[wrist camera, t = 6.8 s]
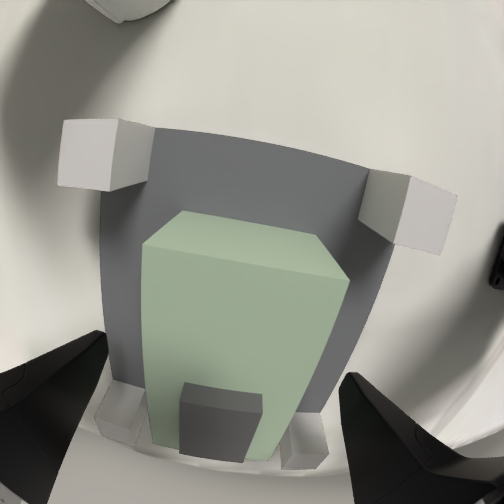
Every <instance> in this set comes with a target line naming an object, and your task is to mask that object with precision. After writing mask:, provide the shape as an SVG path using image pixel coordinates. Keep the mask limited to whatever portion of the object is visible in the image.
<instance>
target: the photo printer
mask: <svg viewBox="0 0 504 504" xmlns="http://www.w3.org/2000/svg"><path fill="white" fill-rule="evenodd" d="M84 1H86V2H87V3H89V4H90V5H91V6H93V7H94V8H95V9H97V10H98V11H99V12H101V13H102V14H103V15H105V16H106V17H108V18H109V19H111V20H112V21H114V22H116V23H122V22H123V21H124V20H128V21H132V20H136V19H139V18H143V17H145V16H147V15H149V14H151V13H153V12H155V11H157V10H159V9H160V8H162V7H163V6H164V5H166V4H167V3H168V2H169V1H171V0H84Z"/></svg>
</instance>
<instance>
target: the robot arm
mask: <svg viewBox="0 0 504 504" xmlns="http://www.w3.org/2000/svg"><path fill="white" fill-rule="evenodd" d="M489 284H490V286H492V287H493V288H495V289H499V290H504V237H503V241H502V244H501V247H500V251H499V254H498V257H497V260H496V263H495V265H494V268H493V271H492V274H491V276H490V280H489ZM108 353H109V347H108V340H107V335H106V333H105V332H102V331H99V330H95V331H92V332H90V333H88V334H86V335H84V336H82V337H80V338H78V339H75V340H73V341H71V342H69V343H67V344H65V345H63V346H60V347H58V348H56V349H54V350H52V351H50V352H47V353H45V354H43V355H41V356H39V357H37V358H35V359H32V360H30V361H28V362H26V363H24V364H21V365H19V366H17V367H15V368H12V369H10V370H8V371H5V372H2V373H0V504H20V503H21V501H22V500H23V501H25V502H26V503H28V504H47V502H48V500H49V497H50V493H51V491H52V488H53V485H54V483H55V480H56V477H57V475H58V471H59V469H60V467H61V464H62V461H63V459H64V457H65V454H66V452H67V449H68V447H69V445H70V442H71V440H72V437H73V435H74V433H75V431H76V428H77V427H78V424H79V422H80V420H81V418H82V416H83V413H84V411H85V409H86V407H87V405H88V403H89V401H90V399H91V397H92V395H93V393H94V391H95V388H96V386H97V384H98V381H99V378H100V375H101V373H102V370H103V367H104V365H105V362H106V359H107V357H108ZM339 402H340V415H341V426H342V431H343V437H344V442H345V447H346V453H347V459H348V464H349V470H350V476H351V482H352V489H353V496H354V502H355V504H504V457H491V458H467V457H464V456H462V455H460V454H458V453H457V452H455V451H454V450H452V449H451V448H449V447H448V446H446V445H445V444H443V443H442V442H440V441H439V440H438V439H436V438H435V437H433V436H432V435H431V434H429V433H428V432H427V431H426V430H424V429H423V428H422V427H421V426H420V425H418V424H416V422H415V421H414V420H412V419H411V418H410V417H409V416H408V415H407V414H405V413H404V412H403V411H402V410H401V409H399V408H398V407H397V406H396V405H395V404H394V403H392V402H391V401H390V400H389V399H388V398H387V397H386V396H384V395H383V394H382V393H381V392H380V391H379V390H377V389H376V388H375V387H374V386H373V385H372V384H371V383H369V382H368V381H367V380H366V379H365V378H364V377H363V376H361V375H360V374H359V373H357V372H349V373H347V374H346V376H345V378H344V379H343V381H342V383H341V385H340V387H339Z"/></svg>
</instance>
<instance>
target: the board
mask: <svg viewBox="0 0 504 504" xmlns="http://www.w3.org/2000/svg"><path fill="white" fill-rule="evenodd" d="M349 282H350V280H349V279H348V277H347V276H346V274H345V273H344V272H343V270H342V269H341V268H340V266H339V265H338V264H337V262H336V261H335V259H334V258H333V257H332V255H331V254H330V253H329V252H328V250H327V249H326V248H325V246H324V245H323V244H322V242H321V241H320V240H319V238H318V237H317V236H316V235H314V234H309V233H304V232H299V231H294V230H289V229H284V228H278V227H273V226H268V225H262V224H257V223H252V222H246V221H241V220H235V219H229V218H224V217H218V216H212V215H206V214H200V213H194V212H188V211H181V212H180V213H179V214H178V215H176V216H175V217H174V218H173V219H172V220H170V221H169V222H168V223H167V224H165V225H164V226H163V227H162V228H161V229H159V230H158V231H157V232H156V233H155V234H154V235H152V236H151V237H150V238H149V239H148V240H147V241H145V242H144V243H143V244H142V268H141V326H142V349H143V364H144V377H145V387H146V397H147V405H148V413H149V421H150V427H151V434H152V440H153V444H157V445H161V446H165V447H169V448H174V449H178V450H179V454H184V455H189V456H195V457H200V458H207V459H213V460H220V461H229V462H238V463H243V461H244V459H245V460H259V461H269V459H270V457H271V455H272V454H273V452H274V450H275V448H276V447H277V445H278V443H279V441H280V440H281V438H282V436H283V434H284V432H285V430H286V428H287V427H288V425H289V423H290V421H291V419H292V417H293V415H294V413H295V411H296V409H297V407H298V405H299V403H300V401H301V399H302V397H303V395H304V393H305V391H306V389H307V386H308V384H309V382H310V380H311V378H312V376H313V373H314V371H315V369H316V367H317V364H318V362H319V360H320V357H321V355H322V353H323V350H324V348H325V346H326V343H327V341H328V338H329V336H330V333H331V331H332V328H333V326H334V323H335V321H336V318H337V315H338V313H339V310H340V307H341V305H342V302H343V299H344V296H345V293H346V291H347V288H348V285H349Z"/></svg>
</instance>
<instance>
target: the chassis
mask: <svg viewBox="0 0 504 504" xmlns="http://www.w3.org/2000/svg"><path fill="white" fill-rule="evenodd" d="M57 186H66V187H75V188H84V189H92V190H101V191H102V192H101V210H100V274H101V291H102V304H103V315H104V324H105V332H106V335H107V340H108V347H109V359H110V365H111V370H112V376H113V381H112V383H111V385H110V387H109V389H108V390H107V392H106V394H105V396H104V398H103V400H102V402H101V404H100V406H99V408H98V410H97V412H96V414H95V416H94V418H95V421H96V423H97V426H98V428H99V430H100V433H101V435H102V436H104V437H106V438H109V439H112V440H115V441H118V442H121V443H124V444H127V445H130V446H133V447H135V445H136V442H137V439H138V436H139V433H140V430H141V427H142V424H143V421H144V418H145V415H146V412H147V410H148V405H147V397H146V387H145V377H144V364H143V349H142V326H141V268H142V244H143V243H144V242H145V241H147V240H148V239H149V238H150V237H151V236H152V235H154V234H155V233H156V232H157V231H158V230H159V229H161V228H162V227H163V226H164V225H165V224H167V223H168V222H169V221H170V220H172V219H173V218H174V217H175V216H176V215H178V214H179V213H180V212H181V211H188V212H194V213H200V214H206V215H212V216H218V217H224V218H229V219H235V220H241V221H246V222H252V223H257V224H262V225H268V226H273V227H278V228H284V229H289V230H294V231H299V232H304V233H309V234H314V235H316V236H317V237H318V238H319V240H320V241H321V242H322V244H323V245H324V246H325V248H326V249H327V250H328V252H329V253H330V254H331V255H332V257H333V258H334V259H335V261H336V262H337V264H338V265H339V266H340V268H341V269H342V270H343V272H344V273H345V274H346V276H347V277H348V279H349V280H350V282H349V285H348V288H347V291H346V293H345V296H344V299H343V302H342V305H341V307H340V310H339V313H338V315H337V318H336V321H335V323H334V326H333V328H332V331H331V333H330V336H329V338H328V341H327V343H326V346H325V348H324V350H323V353H322V355H321V357H320V360H319V362H318V364H317V367H316V369H315V371H314V373H313V376H312V378H311V380H310V382H309V384H308V386H307V389H306V391H305V393H304V395H303V397H302V399H301V401H300V403H299V405H298V407H297V409H296V411H295V413H294V415H293V417H292V419H291V421H290V423H289V425H288V427H287V428H286V430H285V432H284V434H283V436H282V438H281V440H280V441H279V444H280V457H281V470H300V469H316V468H317V467H318V466H319V465H320V463H321V462H322V461H323V460H324V459H325V458H326V457H327V455H328V454H329V451H328V447H327V442H326V437H325V433H324V428H323V424H322V419H321V415H320V412H321V410H322V409H323V407H324V405H325V404H326V402H327V400H328V398H329V397H330V395H331V393H332V391H333V389H334V387H335V386H336V384H337V382H338V380H339V378H340V376H341V374H342V372H343V370H344V368H345V366H346V364H347V362H348V360H349V358H350V356H351V354H352V352H353V350H354V348H355V346H356V344H357V341H358V339H359V337H360V335H361V333H362V330H363V328H364V326H365V323H366V321H367V319H368V316H369V314H370V312H371V309H372V307H373V304H374V302H375V299H376V297H377V294H378V291H379V289H380V286H381V284H382V281H383V278H384V275H385V272H386V270H387V267H388V264H389V261H390V258H391V255H392V252H393V249H394V246H395V244H397V245H401V246H405V247H409V248H413V249H417V250H421V251H425V252H429V253H433V254H437V255H441V252H442V249H443V246H444V243H445V240H446V236H447V233H448V230H449V226H450V223H451V219H452V215H453V212H454V208H455V204H456V199H457V195H455V194H453V193H451V192H449V191H446V190H444V189H442V188H439V187H437V186H435V185H432V184H430V183H427V182H425V181H423V180H420V179H417V178H415V177H412V176H409V175H403V174H398V173H392V172H386V171H380V170H374V169H368V168H365V167H362V166H359V165H355V164H352V163H348V162H345V161H341V160H338V159H334V158H330V157H327V156H323V155H319V154H315V153H311V152H307V151H303V150H298V149H294V148H289V147H285V146H280V145H275V144H270V143H265V142H260V141H255V140H249V139H243V138H237V137H231V136H225V135H218V134H211V133H203V132H195V131H186V130H176V129H165V128H155V127H151V126H147V125H143V124H139V123H135V122H130V121H126V120H122V119H71V120H64V123H63V130H62V137H61V145H60V154H59V164H58V178H57Z"/></svg>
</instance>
